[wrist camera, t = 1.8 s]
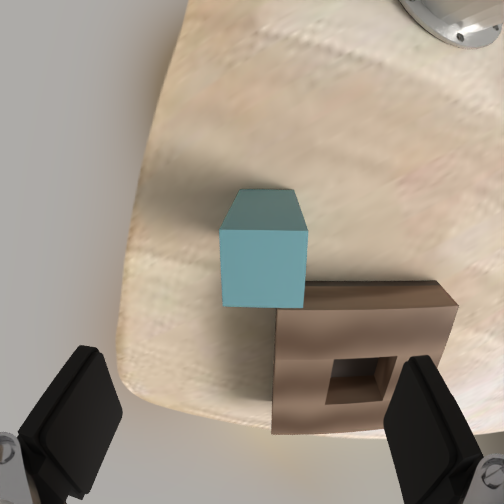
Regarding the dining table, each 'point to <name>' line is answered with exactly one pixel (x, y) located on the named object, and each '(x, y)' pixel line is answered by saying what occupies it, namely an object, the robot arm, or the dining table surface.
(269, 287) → the peg
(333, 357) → the bore block
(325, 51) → the dining table surface
